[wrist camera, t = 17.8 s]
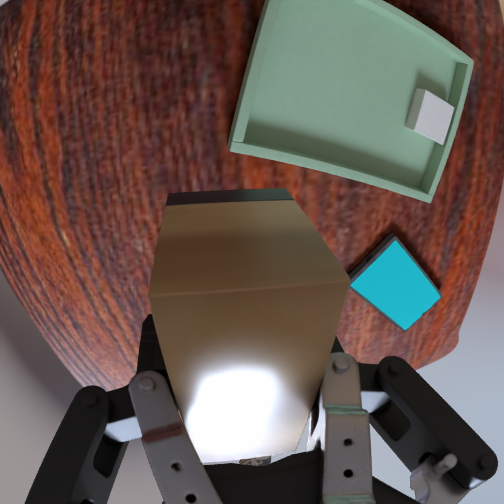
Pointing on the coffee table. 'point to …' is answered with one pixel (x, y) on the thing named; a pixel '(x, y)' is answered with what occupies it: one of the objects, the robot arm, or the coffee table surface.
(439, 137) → the chalk lump
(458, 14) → the coffee table surface
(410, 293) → the smartphone
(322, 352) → the eraser
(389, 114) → the tray
